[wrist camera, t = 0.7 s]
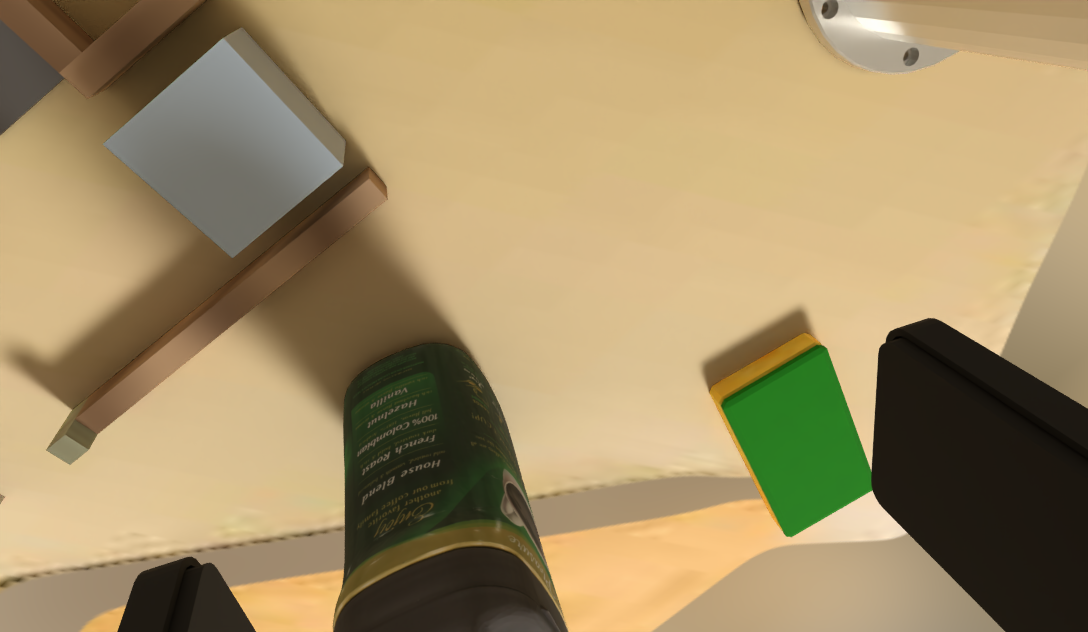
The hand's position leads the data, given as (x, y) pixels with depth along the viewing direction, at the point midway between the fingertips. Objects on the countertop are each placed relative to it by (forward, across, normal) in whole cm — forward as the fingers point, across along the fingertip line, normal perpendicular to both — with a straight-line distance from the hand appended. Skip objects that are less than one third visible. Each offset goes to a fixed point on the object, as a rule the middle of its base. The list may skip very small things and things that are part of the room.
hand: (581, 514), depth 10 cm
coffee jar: (+26, +4, +15) cm, 31 cm away
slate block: (+26, +7, -2) cm, 27 cm away
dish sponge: (+26, -18, +25) cm, 41 cm away
